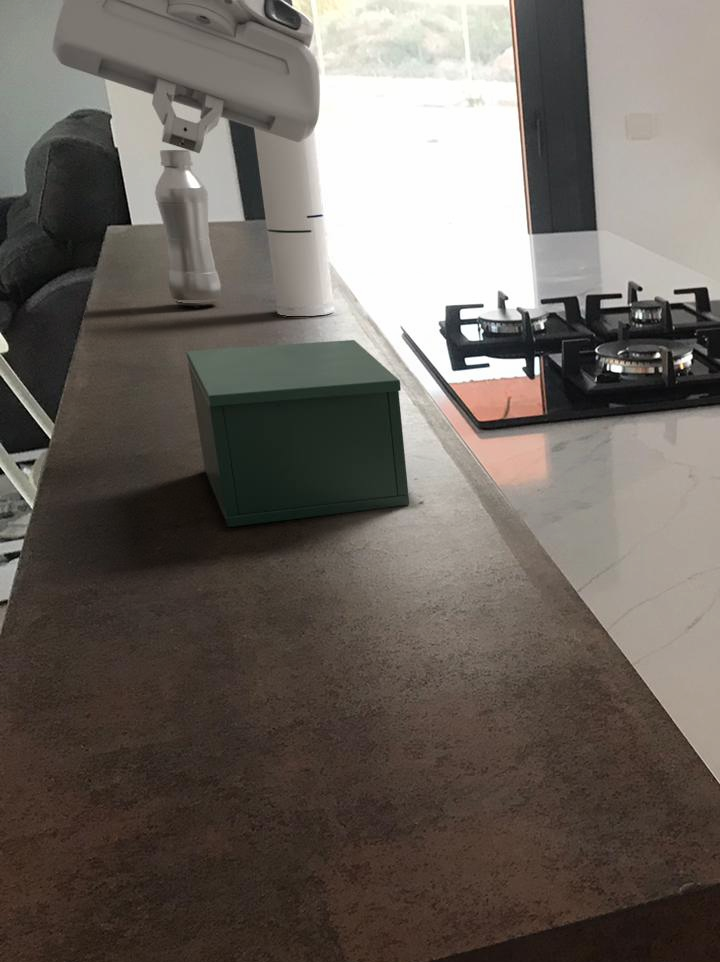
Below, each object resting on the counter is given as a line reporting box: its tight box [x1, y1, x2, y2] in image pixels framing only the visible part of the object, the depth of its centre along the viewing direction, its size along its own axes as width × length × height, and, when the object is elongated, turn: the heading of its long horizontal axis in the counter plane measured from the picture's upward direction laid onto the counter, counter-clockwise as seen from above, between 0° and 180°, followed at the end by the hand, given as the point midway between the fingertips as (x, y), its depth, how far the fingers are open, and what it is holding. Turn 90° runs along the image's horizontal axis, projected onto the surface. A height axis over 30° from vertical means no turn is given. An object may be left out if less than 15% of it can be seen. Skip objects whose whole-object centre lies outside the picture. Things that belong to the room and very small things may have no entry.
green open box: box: [187, 361, 410, 528], centre depth 97 cm, size 16×13×9 cm
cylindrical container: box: [253, 128, 335, 317], centre depth 167 cm, size 7×7×25 cm
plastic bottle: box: [154, 149, 222, 308], centre depth 170 cm, size 6×7×20 cm
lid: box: [186, 339, 402, 407], centre depth 95 cm, size 16×13×1 cm
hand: (182, 144), depth 106 cm, fingers closed
